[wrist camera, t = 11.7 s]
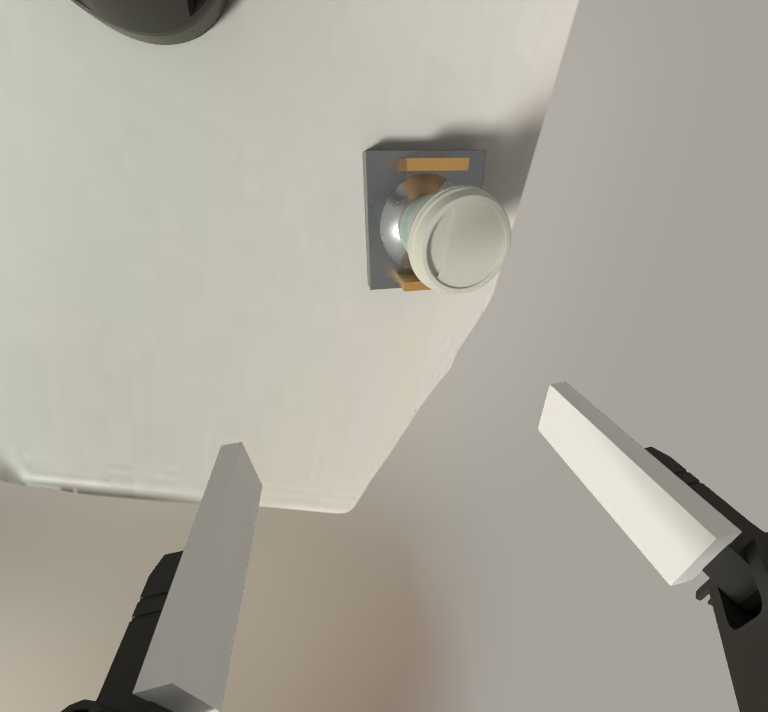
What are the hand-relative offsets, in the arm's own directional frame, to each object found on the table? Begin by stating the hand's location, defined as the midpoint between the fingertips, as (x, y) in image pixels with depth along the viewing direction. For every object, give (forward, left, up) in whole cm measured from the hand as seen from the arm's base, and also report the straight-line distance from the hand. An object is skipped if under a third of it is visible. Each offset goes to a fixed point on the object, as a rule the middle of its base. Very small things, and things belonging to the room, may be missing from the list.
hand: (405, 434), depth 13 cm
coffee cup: (-4, +8, -26) cm, 28 cm away
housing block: (-4, +8, -29) cm, 30 cm away
